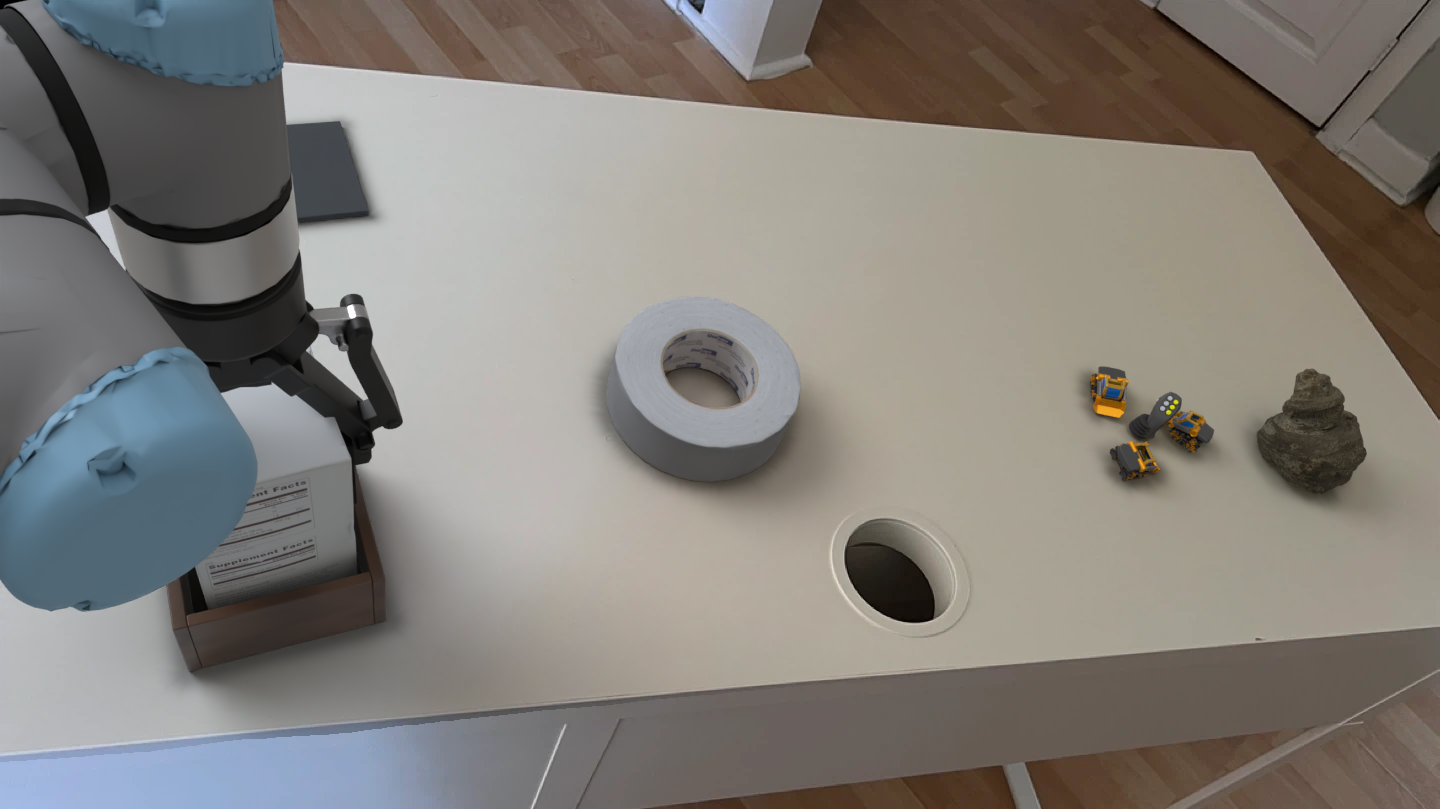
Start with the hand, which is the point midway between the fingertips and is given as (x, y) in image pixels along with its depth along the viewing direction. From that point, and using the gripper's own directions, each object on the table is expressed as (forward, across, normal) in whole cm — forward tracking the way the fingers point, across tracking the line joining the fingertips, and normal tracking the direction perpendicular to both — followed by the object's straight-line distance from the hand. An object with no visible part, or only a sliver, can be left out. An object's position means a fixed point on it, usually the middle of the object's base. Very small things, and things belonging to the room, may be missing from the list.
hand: (262, 504), depth 67 cm
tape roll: (+7, -34, -6) cm, 35 cm away
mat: (+7, -4, -38) cm, 38 cm away
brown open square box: (+7, 0, 0) cm, 7 cm away
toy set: (+7, -73, +8) cm, 74 cm away
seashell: (+7, -89, +16) cm, 91 cm away
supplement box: (+7, 0, 0) cm, 7 cm away
